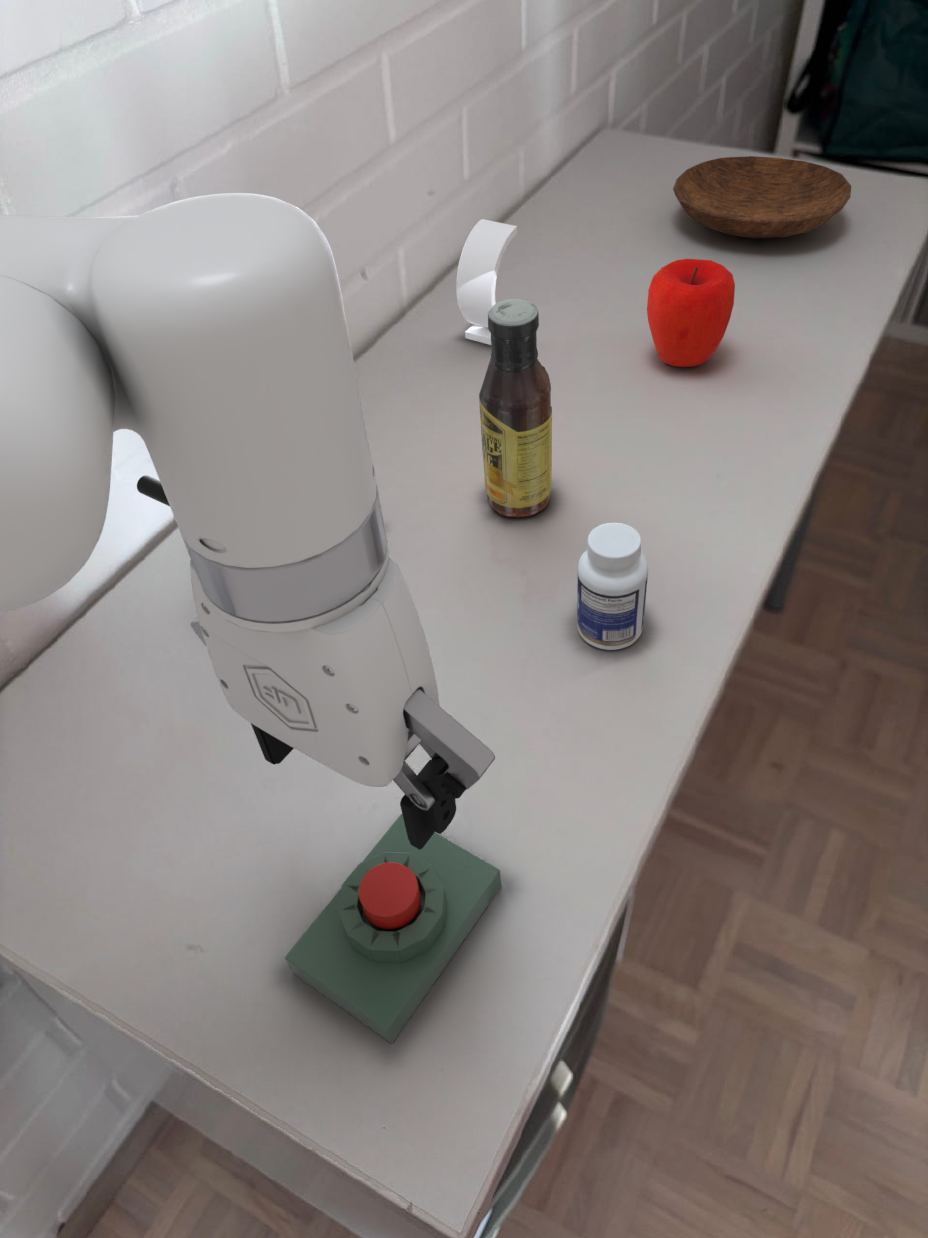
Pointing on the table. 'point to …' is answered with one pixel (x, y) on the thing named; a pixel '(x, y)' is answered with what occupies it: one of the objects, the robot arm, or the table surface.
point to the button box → (395, 932)
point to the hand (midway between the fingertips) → (358, 783)
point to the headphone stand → (481, 274)
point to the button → (390, 895)
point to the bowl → (761, 195)
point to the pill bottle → (611, 587)
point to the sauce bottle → (516, 413)
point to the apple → (689, 310)
